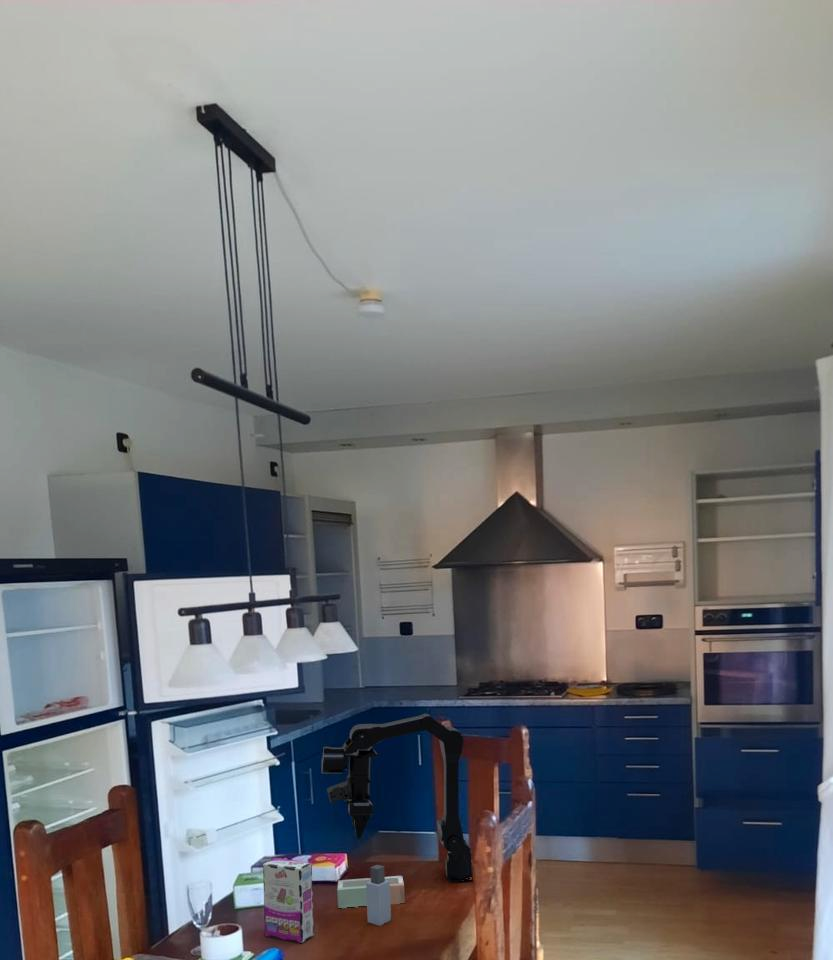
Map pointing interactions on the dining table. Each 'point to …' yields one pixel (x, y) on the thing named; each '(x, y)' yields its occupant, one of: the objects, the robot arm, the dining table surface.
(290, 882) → the candy bar box
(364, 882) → the socket block
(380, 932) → the dining table surface
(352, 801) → the robot arm
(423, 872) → the dining table surface
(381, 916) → the grey capped bottle
